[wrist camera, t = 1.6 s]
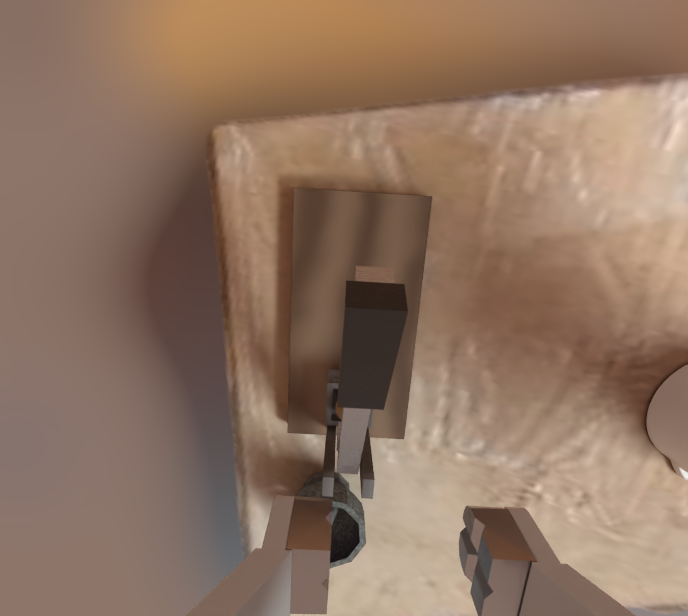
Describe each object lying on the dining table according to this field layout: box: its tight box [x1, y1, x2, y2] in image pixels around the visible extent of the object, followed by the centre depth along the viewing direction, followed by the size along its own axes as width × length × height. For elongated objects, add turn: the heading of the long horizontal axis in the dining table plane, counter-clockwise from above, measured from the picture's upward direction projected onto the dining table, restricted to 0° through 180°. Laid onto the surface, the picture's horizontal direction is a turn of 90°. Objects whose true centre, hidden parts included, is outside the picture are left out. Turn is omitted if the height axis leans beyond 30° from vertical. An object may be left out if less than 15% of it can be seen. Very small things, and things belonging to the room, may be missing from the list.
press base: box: [288, 188, 432, 499], centre depth 37 cm, size 14×28×13 cm, turn 177°
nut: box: [335, 401, 342, 419], centre depth 39 cm, size 3×3×3 cm
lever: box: [337, 266, 408, 474], centre depth 27 cm, size 3×24×4 cm, turn 177°
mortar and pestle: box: [296, 471, 366, 568], centre depth 43 cm, size 11×9×12 cm
